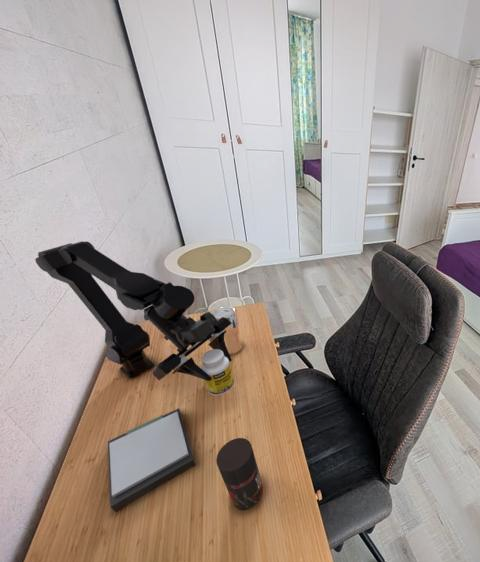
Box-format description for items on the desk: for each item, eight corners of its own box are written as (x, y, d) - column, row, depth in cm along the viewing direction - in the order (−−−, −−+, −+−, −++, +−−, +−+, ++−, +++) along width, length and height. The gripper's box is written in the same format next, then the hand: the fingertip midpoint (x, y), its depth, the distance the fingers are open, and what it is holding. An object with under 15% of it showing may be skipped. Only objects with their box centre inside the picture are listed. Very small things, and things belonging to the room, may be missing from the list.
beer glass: (235, 338, 98) (227, 303, 91) (247, 347, 95) (239, 311, 88) (216, 349, 93) (205, 312, 86) (228, 359, 90) (217, 322, 83)
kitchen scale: (111, 446, 65) (106, 439, 64) (181, 413, 73) (178, 406, 72) (114, 512, 55) (108, 505, 53) (195, 464, 63) (192, 457, 62)
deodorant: (264, 502, 58) (252, 463, 50) (232, 515, 56) (215, 476, 48) (262, 473, 62) (251, 433, 55) (232, 484, 60) (217, 444, 53)
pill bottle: (220, 400, 70) (210, 369, 64) (202, 390, 72) (191, 359, 66) (240, 382, 75) (232, 352, 69) (223, 373, 77) (214, 343, 71)
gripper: (144, 336, 55) (202, 392, 58) (218, 290, 70) (261, 336, 73) (129, 354, 61) (182, 404, 64) (201, 308, 76) (241, 349, 79)
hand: (220, 370), depth 70 cm, fingers closed on pill bottle, 6 cm apart
